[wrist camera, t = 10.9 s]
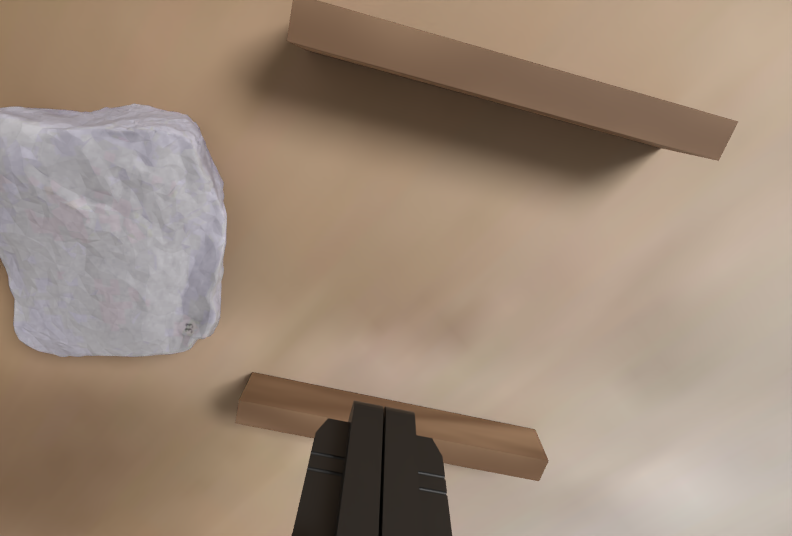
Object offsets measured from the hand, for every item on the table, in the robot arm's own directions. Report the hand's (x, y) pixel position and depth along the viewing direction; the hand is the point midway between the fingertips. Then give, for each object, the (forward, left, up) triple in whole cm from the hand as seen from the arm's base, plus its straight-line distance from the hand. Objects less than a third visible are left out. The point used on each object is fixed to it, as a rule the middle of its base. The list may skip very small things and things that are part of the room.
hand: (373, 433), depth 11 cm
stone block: (+2, -12, -14) cm, 18 cm away
